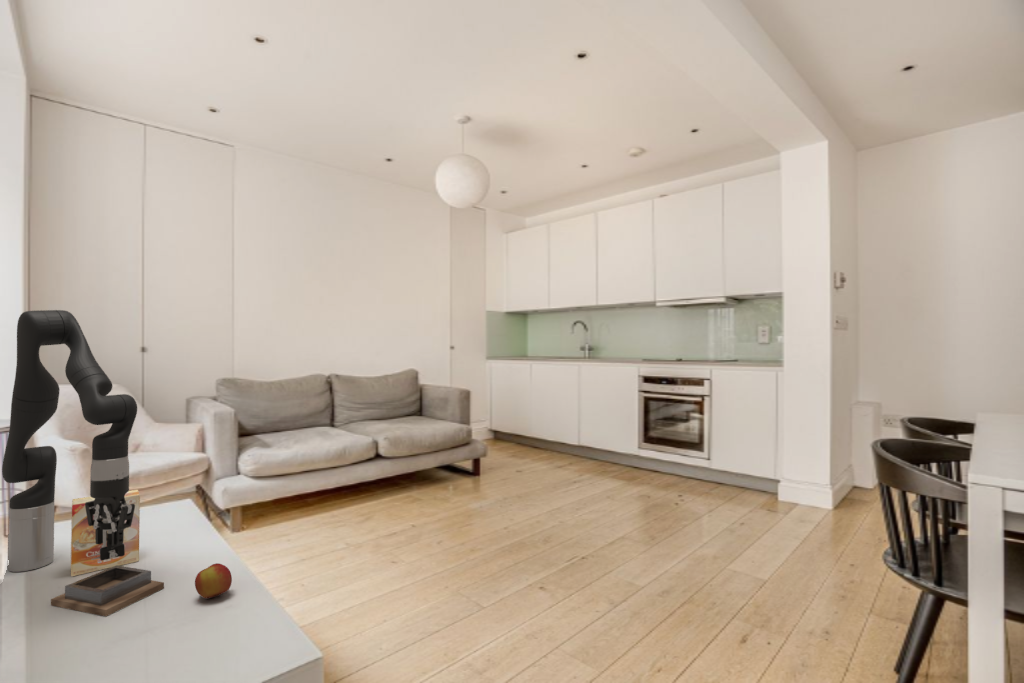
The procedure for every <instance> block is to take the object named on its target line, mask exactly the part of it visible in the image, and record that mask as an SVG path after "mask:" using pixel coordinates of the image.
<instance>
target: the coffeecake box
mask: <svg viewBox="0 0 1024 683" xmlns="http://www.w3.org/2000/svg"><path fill="white" fill-rule="evenodd" d="M124 497H125V501H126V503H127V504H129V505H130V504H134V505H135V509H134V514H133V519H132V524H131V527H128V528H125V529H124V536H123V537H124V538H123V544H124V546H125V555H124V556H119V557H115V558H110V559H106V560H100V559H95V560H91V559H94V558H97V557H100V555H96V556H91V555H95V554H98V553H100V548H102V545H103V543H102V544H96V540H95V536H96V535H95V529H94V528H93V526H89V525H88V520H87V514H86V508H85V503H86V502H89V501H93V500H95V498H92V497H91V496H86V497H77V498H72V501H71V523H70V524H71V528H70V529H71V530H70V531H71V533H70V534H71V537H70V577H71V578H72V577H75V576H80V575H84V574H88V573H93V572H98V571H101V570H102V571H103V570H106V569H109V568H111V567H114V566H116V565H118V566H124V565H128V564H134V563H137V562H139V560H140V527H141V526H140V524H141V522H140V519H141V517H140V514H141V510H140V509H141V495H140V491H139V489H133V490H129V491H128V492H127V493H126V494H125V496H124ZM94 515H95V514H94ZM94 515H93V520H94ZM126 521H127V520H125V523H126ZM107 533H108V531H107ZM106 547H107V541H106Z"/></svg>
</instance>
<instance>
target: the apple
mask: <svg viewBox="0 0 1024 683" xmlns="http://www.w3.org/2000/svg"><path fill="white" fill-rule="evenodd" d="M232 578H233V577H232V572H231V571H230V569H229V568H228V566H226V565H224V564H222V563H213V564H211V565H209V566H208V567H207V568H206V567H205V568H204V569H202V570H201V571H199V572H198V573H197V575H196V576H195V580H194V587H195V591H196V593H197V594H198V595H199V596H200V597H201V598H202V599H213V598H215V597H218V596H220V595H223V594H224V593H226V592H228V591H229V590H230V589H231V586H232V582H233V579H232Z"/></svg>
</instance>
